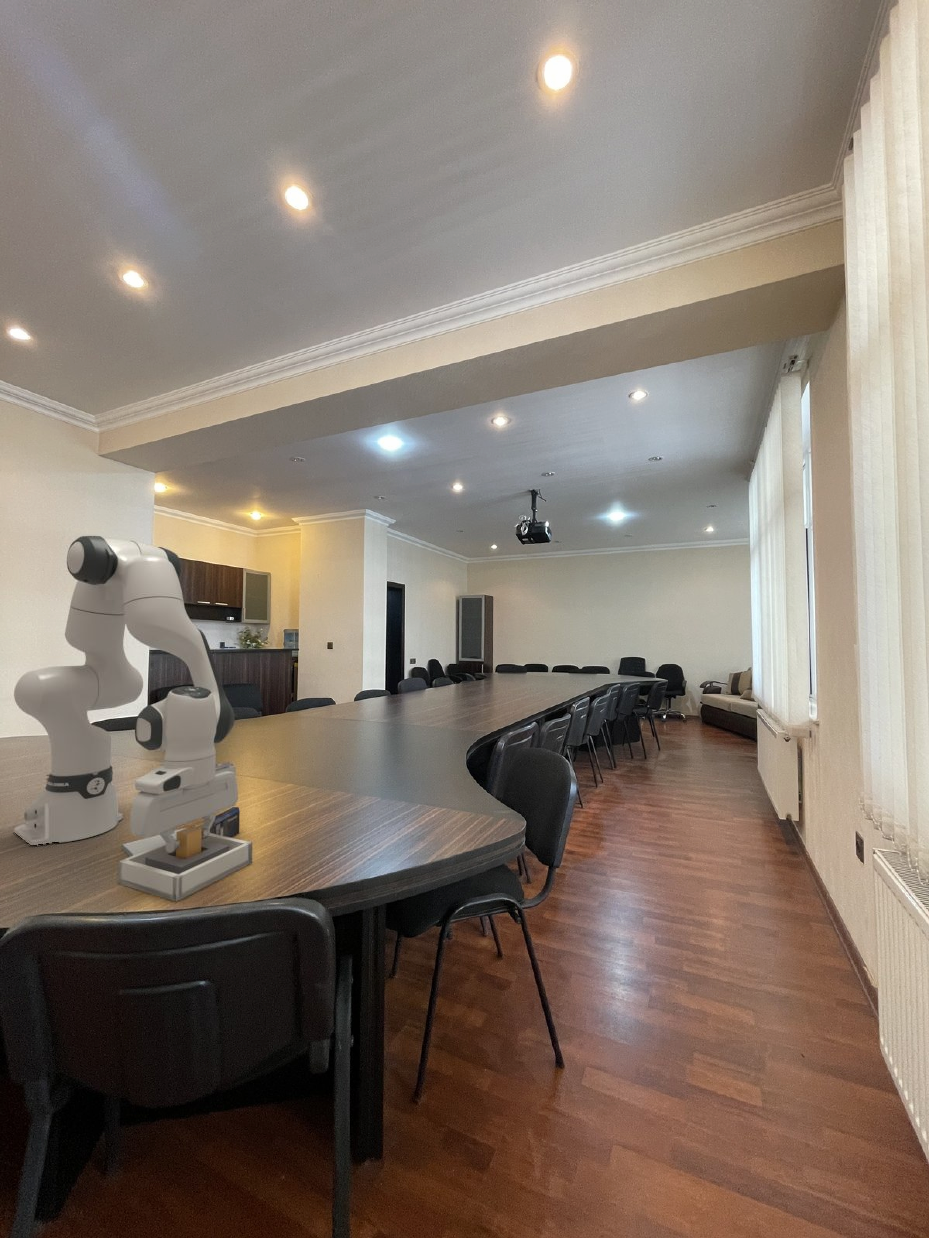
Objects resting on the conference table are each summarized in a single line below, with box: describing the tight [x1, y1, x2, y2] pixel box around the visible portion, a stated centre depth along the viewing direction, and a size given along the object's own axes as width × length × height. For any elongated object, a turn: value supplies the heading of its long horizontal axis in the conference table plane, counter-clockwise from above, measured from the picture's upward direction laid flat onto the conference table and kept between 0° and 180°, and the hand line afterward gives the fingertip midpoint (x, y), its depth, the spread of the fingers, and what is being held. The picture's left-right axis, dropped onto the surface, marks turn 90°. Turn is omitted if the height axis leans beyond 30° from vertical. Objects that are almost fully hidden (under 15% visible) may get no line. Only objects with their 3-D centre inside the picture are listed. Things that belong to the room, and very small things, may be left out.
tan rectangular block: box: [176, 826, 202, 859], centre depth 93 cm, size 3×3×7 cm
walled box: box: [117, 833, 253, 903], centre depth 93 cm, size 16×16×4 cm
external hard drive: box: [121, 827, 187, 857], centre depth 106 cm, size 2×8×12 cm
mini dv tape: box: [210, 806, 241, 838], centre depth 109 cm, size 8×2×6 cm, turn 170°
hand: (188, 844), depth 93 cm, fingers open, 5 cm apart
